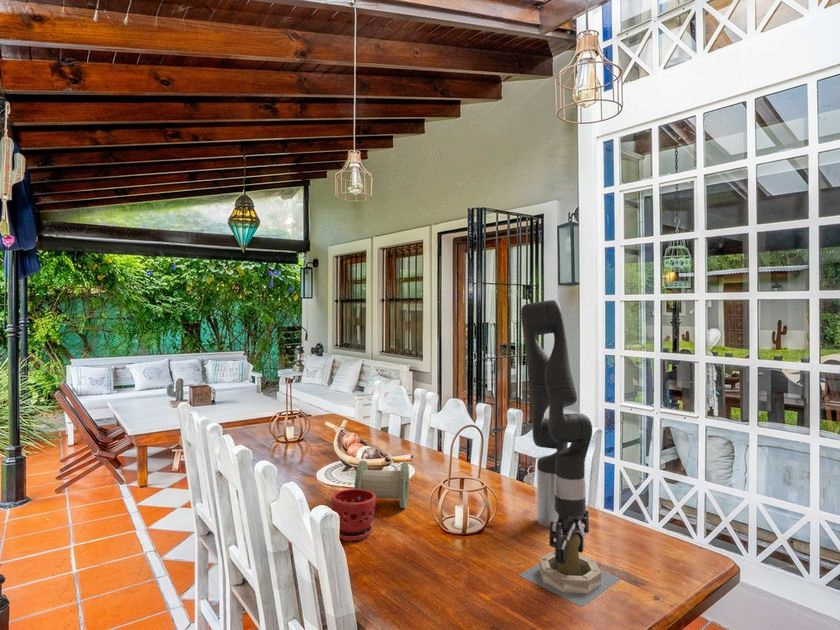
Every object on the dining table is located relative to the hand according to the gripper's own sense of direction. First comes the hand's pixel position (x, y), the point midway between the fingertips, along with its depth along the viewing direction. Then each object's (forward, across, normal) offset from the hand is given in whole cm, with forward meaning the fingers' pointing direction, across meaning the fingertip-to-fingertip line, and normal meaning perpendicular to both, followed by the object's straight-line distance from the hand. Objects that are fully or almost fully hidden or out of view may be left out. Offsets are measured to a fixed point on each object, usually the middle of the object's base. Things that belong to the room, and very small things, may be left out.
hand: (569, 556), depth 126 cm
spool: (+6, +7, -69) cm, 70 cm away
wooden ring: (+5, 0, 0) cm, 5 cm away
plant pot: (+6, +27, -57) cm, 63 cm away
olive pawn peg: (+5, 0, 0) cm, 5 cm away
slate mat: (+6, 0, 0) cm, 6 cm away
